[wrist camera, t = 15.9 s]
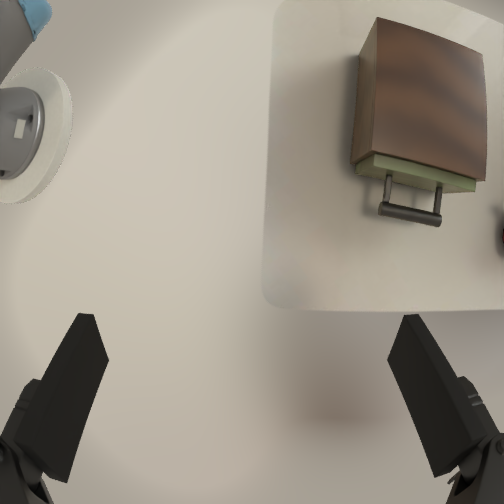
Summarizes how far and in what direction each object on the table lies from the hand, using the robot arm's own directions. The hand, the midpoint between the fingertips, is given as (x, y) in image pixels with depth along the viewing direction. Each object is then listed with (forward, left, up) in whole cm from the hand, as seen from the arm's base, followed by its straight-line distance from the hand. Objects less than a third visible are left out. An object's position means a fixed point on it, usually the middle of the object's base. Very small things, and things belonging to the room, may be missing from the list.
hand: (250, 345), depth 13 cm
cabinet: (+1, +23, -25) cm, 34 cm away
